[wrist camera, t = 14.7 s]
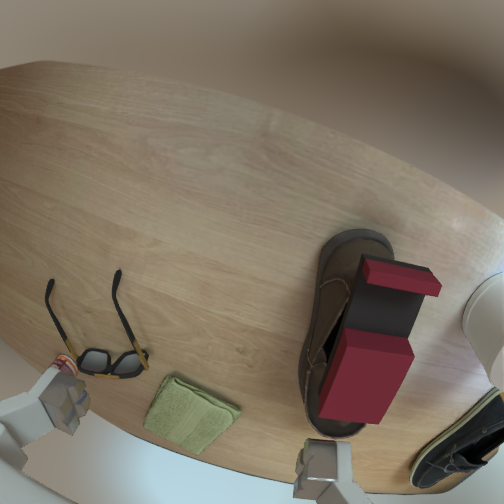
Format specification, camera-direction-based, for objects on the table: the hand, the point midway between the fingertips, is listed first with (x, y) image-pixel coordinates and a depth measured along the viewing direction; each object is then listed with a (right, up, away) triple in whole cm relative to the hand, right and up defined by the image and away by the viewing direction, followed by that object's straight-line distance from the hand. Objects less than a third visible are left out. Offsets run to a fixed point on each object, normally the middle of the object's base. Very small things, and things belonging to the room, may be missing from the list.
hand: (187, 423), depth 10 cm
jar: (+35, -2, +24) cm, 42 cm away
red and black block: (+12, -1, +16) cm, 21 cm away
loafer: (+13, -5, +29) cm, 32 cm away
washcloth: (-8, -21, +40) cm, 46 cm away
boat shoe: (+41, -28, +34) cm, 60 cm away
